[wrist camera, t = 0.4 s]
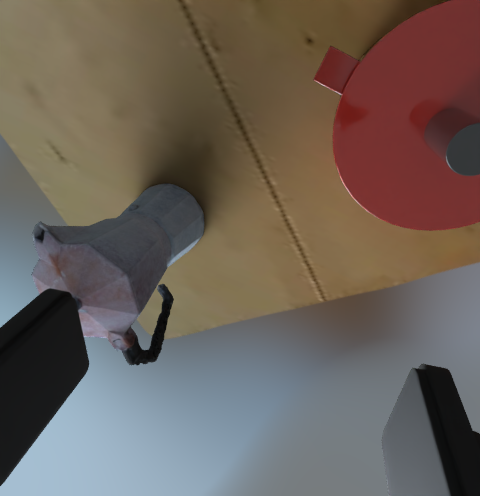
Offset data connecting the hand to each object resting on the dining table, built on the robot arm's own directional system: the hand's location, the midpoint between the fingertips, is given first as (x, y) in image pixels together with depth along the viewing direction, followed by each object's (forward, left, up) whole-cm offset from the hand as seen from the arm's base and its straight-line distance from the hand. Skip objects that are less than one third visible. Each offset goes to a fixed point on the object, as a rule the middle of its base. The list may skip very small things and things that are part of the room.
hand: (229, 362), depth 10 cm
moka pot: (+17, -5, -30) cm, 35 cm away
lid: (-9, +6, -21) cm, 24 cm away
